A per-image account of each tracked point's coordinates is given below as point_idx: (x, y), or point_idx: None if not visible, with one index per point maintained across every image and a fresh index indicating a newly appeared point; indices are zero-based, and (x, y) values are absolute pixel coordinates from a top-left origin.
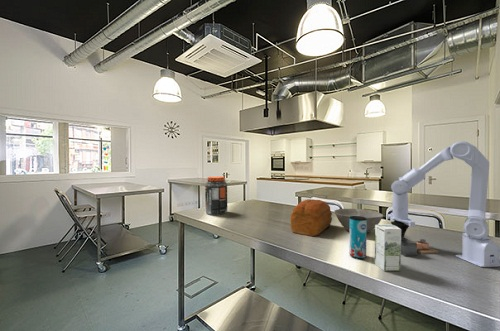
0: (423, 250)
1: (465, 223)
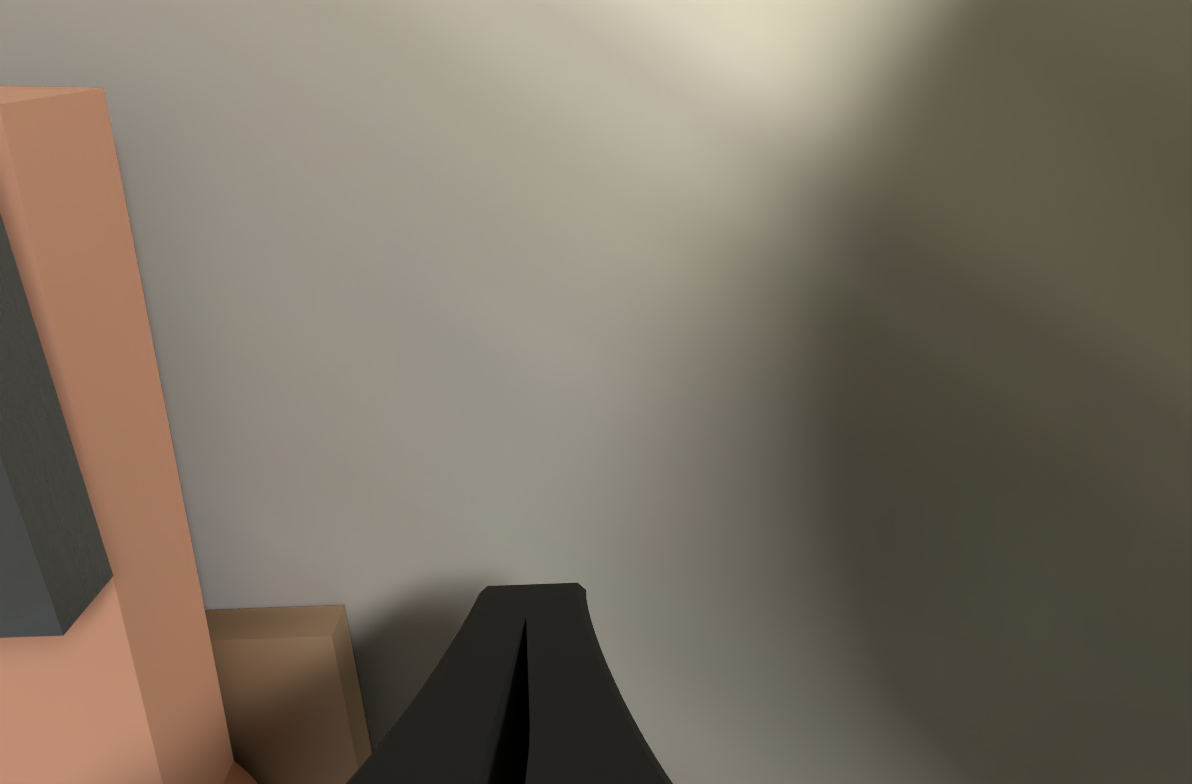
0: None
1: None
